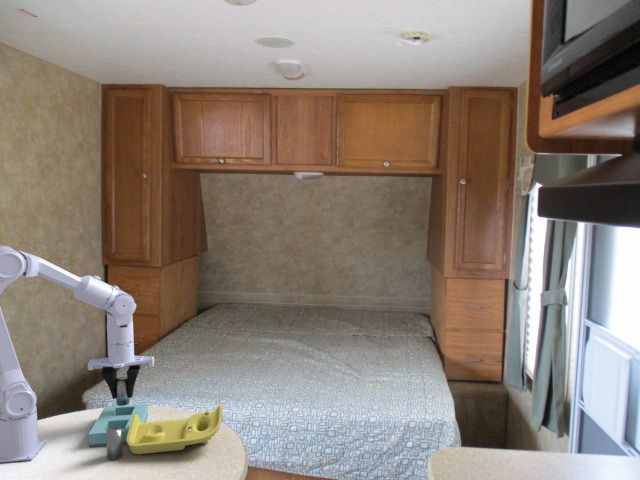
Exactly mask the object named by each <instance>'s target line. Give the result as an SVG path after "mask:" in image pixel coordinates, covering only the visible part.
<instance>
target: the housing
mask: <svg viewBox="0 0 640 480" xmlns="http://www.w3.org/2000/svg"><path fill="white" fill-rule="evenodd" d="M148 407H149V405H148V403H139V404H138V403H136V404H127V405H124V406H118V405H106V406H104V407H103V409H102V410H101V413H100V414H99V416H98V418H97V419H96V421H95V423H94V425H93V426H92V428H91V429H90V431H89V432H88V447H89V448H94V447H107V438H106V430H107V429H108V428H110V427H114V426H119V427H121V428H122V446H123V445H128V443H127V435H128V431H129V427H130V424H131V420H132V416H133V414H137V415H138V417H139V419H140V421H141V423H146V422H147V419H148V415H149V411H148V410H149V408H148Z"/></svg>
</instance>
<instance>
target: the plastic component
mask: <svg viewBox="0 0 640 480" xmlns="http://www.w3.org/2000/svg"><path fill="white" fill-rule="evenodd" d="M223 410H224V409H223V405H218V406H217V407H216V409H215V410H213V411H209V410H206V411H203V412H197V413H194V414H193V415H191V416H190V417H188V418H178V419H177V418H176V419H168V420H167V419H166V420H158V421H148V422H147V421H146V422H145V423H141V421H140V419H139V417H138V415H137V414H133V416H132V420H131V424H130V427H129V431H128V435H127V443H128V444H127V446H128V448H129V451H130V452H131V453H132V454H134V455H144V454H154V453H155V454H156V453H162V452H175V451H183V450H184V449H185V447H186V446H191V445H195V444H199V443H200V444H203V443H209V440H212V439H213V437H214V436H215V435H216V433H217V432H218V431H219V430H220V427H221V425H222V420H223Z"/></svg>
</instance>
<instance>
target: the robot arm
mask: <svg viewBox="0 0 640 480" xmlns="http://www.w3.org/2000/svg"><path fill="white" fill-rule="evenodd" d="M22 276H23V277H24V278H34V277H41V278H43V279H46V280H47V281H50V282H53V283H54V284H57V285H60V286H63V287H65V288H66V289H69V290H72V293H73V295H74V298H75V299H77V300H79V301H81V302H83V303H85V304H88V305H89V306H93V307H95V308H97V309H99V310H104V311H105V312H106V333H107V335H106V336H107V337H106V338H107V356H108V357H102V358H96V359H89V361H88V362H87V370H88V371H93V370H98V369H99V370H100V369H101V370H102V372H101V377H102V378H103V379H104V381H105V383H106V384H107V386H108V389H109V391H110V394H111V398H112V399H113V400H116V386H115V379H116V378H118V374H117V373H118V369H120V368H121V369H122V368H128V369H127V370H126V377H127V378H128V397H129V398H130V399H132V398H133V396H134V391H135V385H136V381H137V378H138V375H139V373H140V370H141V367H148V368H154V365H155V356H153V355H152V356H146V355H145V356H144V355H143V356H142V355H135V343H134V342H135V341H134V321H133V314H134V313H135V312H136V310H137V304H136V303H135V299H134V298H133V296H132V295H131V294H128V293H127V292H126V291H123V290H122V289H120V288H119V286H117V285H115V284H114V285H111V284H108V283H107V282H105V281H102V280H101V279H102V278H101V277H100V276H98V275H96V274H95V275H93V276H91V275H85V276H77V275H76V274H74V273H72V272H69V271H67V270H65V269H63V268H61V267H59V266H57V265H55V264H54V263H52V262H51V261H50V262H49V261H48V260H46V259H44V258H42V257H39V256H37V255H34V254H32V253H29V252H28V253H27V252H25V251H22V250H15V249H14V248H13V247H11V246H8V245H0V295H1V294H2V293H3V292H4V290H5V289H6V288H7V286H9V285H10V284H11V283H14V281H16V280H17V279H18V278H19V279H20V277H22ZM11 338H12V337H11V335H10V332H9V329H8V326H7V323H6V320H5V316H4V314H3V310H2V308H1V306H0V463H11V462H21V461H31V460H33V459H34V458H35V457H36V455H37V454H38V453H39V452H40V450H41V449H42V447H43V446H44V445H45V443H46V442H47V439H44V438H43V439H42V438H41V439H39V429H38V428H39V427H38V426H39V425H38V410H37V400H38V399H37V395H36V393H35V392H34V390H32V388H31V384H30V382H29V380H28V379H27V378H26V377H25V376H24V374H23V371H22V369H21V365H20V362H19V359H18V356H17V353H16V350H15V347H14V345H13V341H12V339H11Z"/></svg>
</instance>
